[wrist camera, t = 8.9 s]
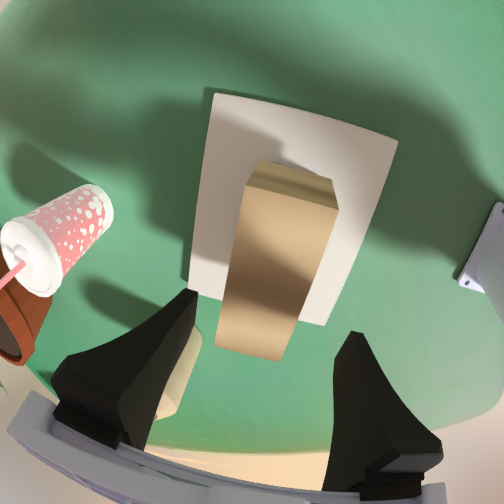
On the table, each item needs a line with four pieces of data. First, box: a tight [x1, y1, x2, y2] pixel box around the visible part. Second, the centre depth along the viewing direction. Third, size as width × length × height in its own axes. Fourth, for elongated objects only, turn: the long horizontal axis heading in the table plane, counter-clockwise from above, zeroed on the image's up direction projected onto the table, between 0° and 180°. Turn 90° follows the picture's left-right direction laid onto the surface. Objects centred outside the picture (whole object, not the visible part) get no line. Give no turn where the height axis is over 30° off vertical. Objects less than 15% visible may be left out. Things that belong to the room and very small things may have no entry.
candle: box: [153, 325, 202, 421], centre depth 26 cm, size 6×6×10 cm
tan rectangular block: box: [214, 160, 339, 362], centre depth 17 cm, size 10×4×4 cm, turn 168°
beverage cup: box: [0, 184, 113, 297], centre depth 19 cm, size 6×6×14 cm
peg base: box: [188, 93, 398, 326], centre depth 21 cm, size 12×16×4 cm
